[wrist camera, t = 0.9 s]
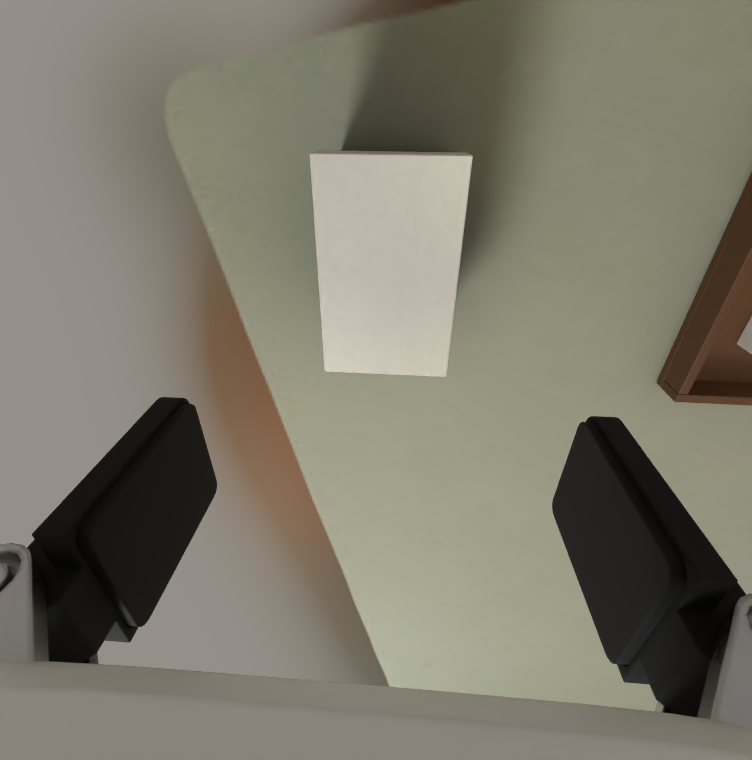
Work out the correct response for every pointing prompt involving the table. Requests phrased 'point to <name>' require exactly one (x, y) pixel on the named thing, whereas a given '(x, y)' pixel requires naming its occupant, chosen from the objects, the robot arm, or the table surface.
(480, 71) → the table surface
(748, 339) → the white book lower
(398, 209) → the white book
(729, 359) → the book tray
